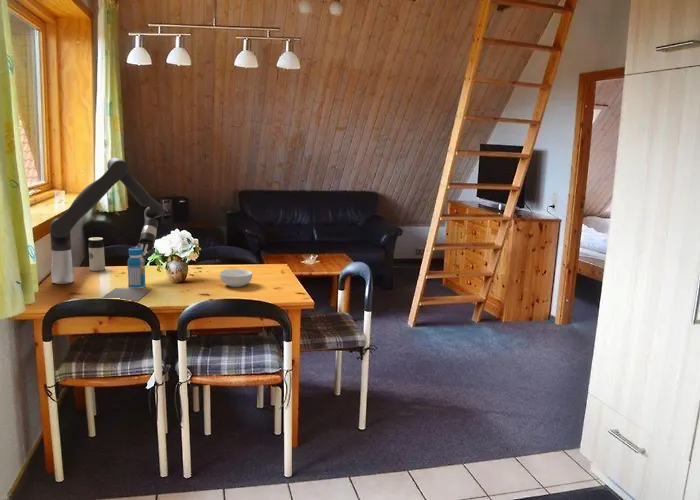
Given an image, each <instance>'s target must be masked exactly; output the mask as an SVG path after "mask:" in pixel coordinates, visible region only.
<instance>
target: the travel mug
mask: <svg viewBox="0 0 700 500" xmlns="http://www.w3.org/2000/svg"><path fill="white" fill-rule="evenodd" d="M88 241H89V242H88V244H87V245H88V256H89V257H88V258H89V259H88V261H89V270H90V271H93V272H100V271H104V270H105V269H106V261H105V244H104V242H103V241H104V238H103V237H89V238H88Z"/></svg>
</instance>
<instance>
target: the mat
mask: <svg viewBox="0 0 700 500" xmlns="http://www.w3.org/2000/svg"><path fill="white" fill-rule="evenodd" d="M151 291H152V289H151V288H139V289H132V288H129V287H127V288H125V287H115V288H114V289H111V290H110V291H109V292H107V293H106V294H104V295H103V296H101V298H120V299H126V300H131V301H137V302H139V301H140V300H142V298H144V297H146V295H147V294H149V293H150V292H151ZM131 301H130V302H131Z"/></svg>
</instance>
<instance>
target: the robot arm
mask: <svg viewBox="0 0 700 500" xmlns="http://www.w3.org/2000/svg"><path fill="white" fill-rule="evenodd" d="M106 168H107V170H106V171H105V172H104V173H103V174H102V176H100V177H99V178H98V179H96V180H95V181H92V182H91V183H89V184H88V185H87V186H86V187H84V189H83V190H81V192H79V194H78V195H77V196H76V198H75V199H74V200H73V201H72V203H71V204H70V206H69V207H68V209H67V210H66V211H65V212H64V213H62V214H61V216H59V217H56V218H54V219H53V220H52V221H51V222H50V224H49V232H50V233H49V234H50V235H49V236H50V247H51V259H52V260H51V261H52V264H51V265H50V273H51V275H50V276H51V283H52V284H53V283H54V284H57V285H60V284H61V285H62V284H63V285H65V284H71V283H73V282H74V269H73V256H72V239H71V231H72V229H73V228H74V227H75V226H76V225H77V223H79V221H80V220H81V219H82V218H83V217H85V215H86V214H88V213H89V212H90V211H91V210H92V209H93V208H94V207H95V206H96V205H97V204H98V203H99V202H100V201H101V200H102V199H103V197H104V196H106V194H107V193H108V192H109V191H110V190H111V189H112V188H113V186H115V185H116V184H117V183H119V181H120V182H121V183H122V184H123V185H124V186H125V188H126V189H127V190H128V191H129V193H130V194H131V196H132V197H133V198H134V199H135V200H136V202H137V203H138V204H139V205H140V206H141V207H146V208H145V210H144V211H143V212H144V214H143V215H144V224H143V227H142V230H141V233H140V237H139V241H138V243H137V245H136V246H132V248H142V249H143V255H141V256H142V257H143V259H144V261H145V262H144V264H145V263H146V259H147V258H150V257H152V256H153V255H154V254H155V253H156V252H155V248H154V247H155V245H154V244H155V242H156V241H155V240H156V237H157V230H158V226H159V221H158V220H157V218H160V217H162V216H163V215H164V214H165V209H164V206H163V205H162V203H160V202H158V201H157V200H156V199H155V198H153V197H152V196H150V194H149V193H148V191H146V189H145V188H144V187H143V186H142V184H140V183H139V182H138V181H137V180H136V179H135V177H134V176H133V175H132V174H131V172H130V171H129V169H130V167H129V165H128V163H127V161H126V160H124V159H122V158H120V157H117V156H116V157H111V158H110V159H109V160H108V161H107V167H106Z"/></svg>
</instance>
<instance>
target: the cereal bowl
mask: <svg viewBox="0 0 700 500" xmlns="http://www.w3.org/2000/svg"><path fill="white" fill-rule="evenodd" d="M219 279H220V281H221V282H222V283H223V284H225V285H227V286H228V287H231V288H242V287H244V286H245V285H247V284H250V282H251V281H252V280H253V272H252V271H251V270H248V269H240V268H231V269H230V268H229V269H224V270H221V271H220V272H219Z"/></svg>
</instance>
